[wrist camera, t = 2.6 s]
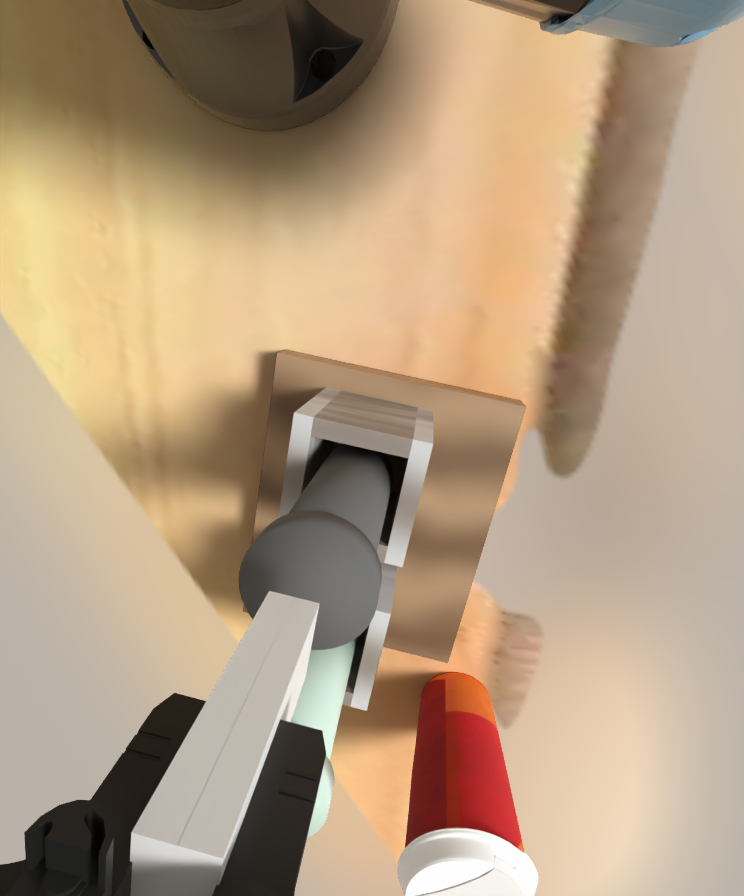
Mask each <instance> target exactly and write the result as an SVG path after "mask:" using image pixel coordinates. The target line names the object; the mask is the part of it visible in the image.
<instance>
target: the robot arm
mask: <svg viewBox="0 0 744 896" xmlns="http://www.w3.org/2000/svg"><path fill="white" fill-rule="evenodd" d="M122 1H123V3H124V6H125V9H126V11H127V13H128V16H129V18H130V20H131V22H132V24H133V26H134V28H135V30H136V32H137V34H138V36H139V38H140V40H141V41H142V43H143V45H144V46H145V48H146V49H147V51H148V52H149V54H150V55H151V57H152V58H153V59H154V61H155V62H156V63H157V65H158V66H159V67H160V69H161V70H162V71H163V72H164V73H165V74H166V75H167V77H168V78H169V79H170V80H171V81H172V82H173V83H174V84H175V85H176V86H178V87H179V88H180V89H181V90H182V91H183V92H185V93H186V94H187V95H188V96H189V97H190V98H192V99H193V100H194V101H195V102H196V103H197V104H199V105H200V106H201V107H203V108H204V109H205V110H207V111H208V112H210V113H211V114H213V115H215V116H217V117H218V118H220V119H222V120H224V121H227V122H229V123H231V124H234V125H237V126H241V127H245V128H249V129H255V130H283V129H289V128H293V127H297V126H301V125H304V124H306V123H309V122H311V121H314V120H316V119H318V118H320V117H322V116H323V115H325V114H327V113H328V112H330V111H331V110H333V109H334V108H335V107H337V106H338V105H339V104H341V103H342V102H343V101H344V100H345V99H346V98H347V97H348V96H350V95H351V94H352V93H353V92H354V90H355V89H356V88H357V87H358V86H359V85H360V84H361V82H362V81H363V80H364V78H365V77H366V76H367V74H368V73H369V72H370V70H371V68H372V67H373V65H374V64H375V62H376V60H377V58H378V57H379V55H380V53H381V51H382V49H383V47H384V45H385V43H386V40H387V38H388V35H389V33H390V30H391V27H392V24H393V21H394V17H395V14H396V10H397V6H398V1H399V0H122ZM469 1H473V2H476V3H479V4H483V5H486V6H489V7H493V8H496V9H499V10H503V11H506V12H509V13H512V14H516V15H519V16H522V17H526V18H529V19H532V20H536V21H539V23H540V27H541V30H543V31H547V32H549V33H552V34H568V33H571V32H573V31H576V30H580V31H584V32H589V33H593V34H598V35H602V36H607V37H611V38H616V39H620V40H625V41H629V42H633V43H638V44H642V45H646V46H651V47H673V46H678V45H683V44H687V43H691V42H693V41H695V40H697V39H699V38H701V37H703V36H705V35H707V34H709V33H711V32H713V31H715V30H717V29H718V28H720V27H721V26H723V25H726V24H729V23H731V22H733V21H735V20H737V19H739V18H741V17H742V16H744V0H469ZM319 604H320V603H316V602H312V601H308V600H304V599H300V598H296V597H292V596H288V595H284V594H280V593H276V592H272V591H269V592H268V594H267V596H266V597H265V599H264V601H263V603H262V604H261V606H260V608H259V610H258V612H257V613H256V615H255V617H254V619H253V620H252V622H251V624H250V626H249V627H248V629H247V631H246V633H245V634H244V636H243V638H242V640H241V641H240V643H239V645H238V647H237V648H236V650H235V652H234V654H233V655H232V657H231V659H230V661H229V662H228V664H227V666H226V668H225V669H224V671H223V673H222V675H221V676H220V678H219V680H218V682H217V683H216V685H215V687H214V689H213V691H212V692H211V694H210V696H209V697H208V699H207V701H203V700H199V699H196V698H191V697H188V696H184V695H180V694H177V693H174V694H172V695H171V696H170V697H169V698H167V699H166V700H164V701H163V702H162V703H160V704H159V705H158V706H157V707H155V708H154V709H153V710H152V712H151V713H150V715H149V716H148V717H147V719H146V720H145V722H144V723H143V725H142V726H141V728H140V729H139V731H138V733H137V735H135V736H134V738H133V739H132V741H131V742H130V743H129V745H128V746H127V748H126V751H125V752H124V753H123V754H122V755H121V757H120V758H119V759H118V761H117V762H116V764H115V765H114V767H113V768H112V770H111V771H110V772H109V774H108V775H107V777H106V778H105V780H104V781H103V783H102V784H101V786H100V787H99V788H98V790H97V791H96V793H95V794H94V796H93V797H92V799H91V800H76V801H72V802H69V803H65V804H62V805H59V806H57V807H55V808H54V809H52V810H51V811H49V812H47V813H45V814H44V815H42V816H41V817H40V818H39V819H38V820H37V821H36V822H35V823H34V824H33V825H32V826H31V827H30V828H29V829H28V830H27V831H26V832H25V851H26V859H25V860H23V861H19V862H15V863H10V864H4V865H0V896H294V891H295V887H296V882H297V878H298V874H299V870H300V865H301V861H302V857H303V853H304V848H305V844H306V840H307V836H308V832H309V827H310V823H311V819H312V815H313V811H314V806H315V802H316V798H317V793H318V789H319V784H320V780H321V775H322V771H323V766H324V762H325V757H326V749H325V743H324V737H323V731H322V730H318V729H314V728H311V727H307V726H303V725H299V724H296V723H292V722H290V721H291V719H292V716H293V713H294V710H295V707H296V704H297V701H298V698H299V695H300V692H301V689H302V686H303V683H304V680H305V677H306V672H307V667H308V662H309V656H310V651H311V646H312V641H313V635H314V630H315V625H316V620H317V615H318V609H319Z"/></svg>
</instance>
